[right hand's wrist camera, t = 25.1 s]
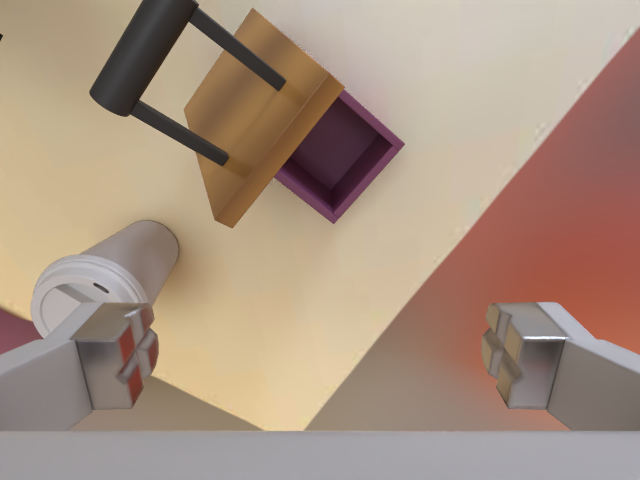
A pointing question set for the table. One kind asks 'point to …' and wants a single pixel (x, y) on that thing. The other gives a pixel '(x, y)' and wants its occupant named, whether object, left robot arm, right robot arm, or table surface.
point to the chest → (339, 157)
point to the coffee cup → (106, 274)
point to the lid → (223, 97)
